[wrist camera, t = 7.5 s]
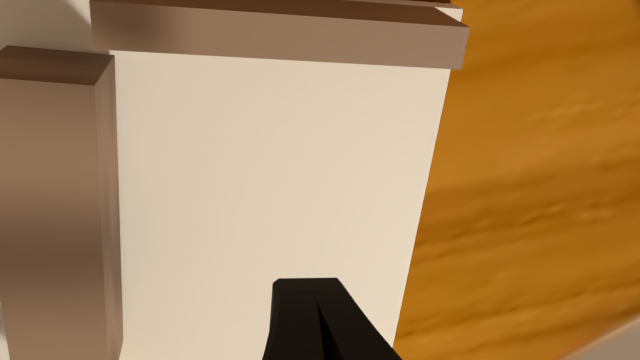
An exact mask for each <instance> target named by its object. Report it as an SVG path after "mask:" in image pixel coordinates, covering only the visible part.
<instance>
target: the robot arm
mask: <svg viewBox="0 0 640 360" xmlns="http://www.w3.org/2000/svg"><path fill="white" fill-rule="evenodd" d="M262 360H402V359H401V358H400V356H399V355H398V354H397V353H396V352H395V351H394V350H393V348H392V347H391V346H390V345H389V344H388V342H387V341H386V340H385V339H384V338H383V336H382V335H381V334H380V333H379V332H378V330H377V329H376V328H375V327H374V325H373V324H372V323H371V322H370V320H369V319H368V318H367V316H366V315H365V314H364V313H363V311H362V310H361V309H360V307H359V306H358V305H357V303H356V302H355V301H354V299H353V298H352V296H351V295H350V294H349V292H348V291H347V290H346V288H345V287H344V285H343V284H342V283H341V281H340V280H339V279H338V278H278V279H277V280H276V281H275V282H273V285H272V299H271V313H270V327H269V334H268V339H267V343H266V347H265V351H264V355H263V358H262Z"/></svg>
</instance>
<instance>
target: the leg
mask: <svg viewBox="0 0 640 360" xmlns="http://www.w3.org/2000/svg"><path fill="white" fill-rule="evenodd" d="M0 300H1V306H2V313H3V319H4V326H5V332H6V339H7V345H8V351H9V358H10V360H119V357H120V353H121V348H122V344H123V311H122V278H121V246H120V213H119V180H118V147H117V114H116V81H115V55H109V54H98V53H87V52H76V51H65V50H54V49H43V48H32V47H21V46H10V45H7V46H6V47H4V48H3V49H2V50H0Z"/></svg>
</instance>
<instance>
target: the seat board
mask: <svg viewBox="0 0 640 360" xmlns="http://www.w3.org/2000/svg"><path fill="white" fill-rule="evenodd" d="M462 12H463V9H462V8H460V7H458V6H456V5H454V4H449V3H437V2H424V1H411V0H0V50H2V49H3V48H4V47H6V46H7V45H10V46H21V47H32V48H43V49H54V50H65V51H76V52H87V53H98V54H109V55H115V81H116V114H117V147H118V180H119V213H120V246H121V278H122V311H123V344H122V348H121V353H120V357H119V360H262V358H263V355H264V351H265V347H266V343H267V339H268V334H269V327H270V313H271V299H272V285H273V282H275V281H276V280H277V279H278V278H338V279H339V280H340V281H341V283H342V284H343V285H344V287H345V288H346V290H347V291H348V292H349V294H350V295H351V296H352V298H353V299H354V301H355V302H356V303H357V305H358V306H359V307H360V309H361V310H362V311H363V313H364V314H365V315H366V316H367V318H368V319H369V320H370V322H371V323H372V324H373V325H374V327H375V328H376V329H377V330H378V332H379V333H380V334H381V335H382V336H383V338H384V339H385V340H386V341H387V342H388V344H389V345H390V346H391V347H393V342H394V338H395V333H396V328H397V323H398V319H399V314H400V309H401V304H402V299H403V295H404V290H405V285H406V280H407V275H408V271H409V266H410V261H411V256H412V252H413V247H414V242H415V237H416V232H417V228H418V223H419V218H420V213H421V208H422V204H423V199H424V194H425V189H426V184H427V180H428V175H429V170H430V165H431V161H432V156H433V151H434V146H435V141H436V137H437V132H438V127H439V122H440V117H441V113H442V108H443V103H444V98H445V93H446V89H447V84H448V79H449V74H450V70H451V69H457V70H461V67H462V62H463V58H464V53H465V49H466V44H467V39H468V35H469V30H470V27H468V26H467V25H465V24H463V23H461V17H462ZM0 360H10V358H9V351H8V345H7V339H6V332H5V326H4V319H3V313H2V306H1V300H0Z"/></svg>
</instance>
